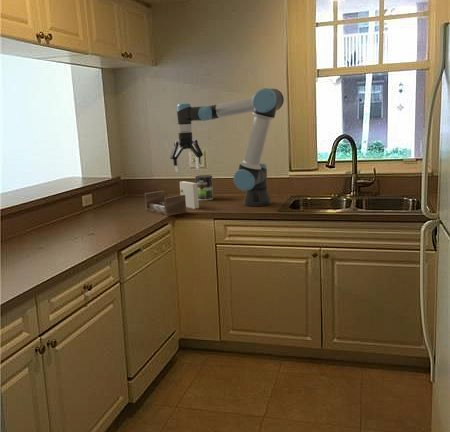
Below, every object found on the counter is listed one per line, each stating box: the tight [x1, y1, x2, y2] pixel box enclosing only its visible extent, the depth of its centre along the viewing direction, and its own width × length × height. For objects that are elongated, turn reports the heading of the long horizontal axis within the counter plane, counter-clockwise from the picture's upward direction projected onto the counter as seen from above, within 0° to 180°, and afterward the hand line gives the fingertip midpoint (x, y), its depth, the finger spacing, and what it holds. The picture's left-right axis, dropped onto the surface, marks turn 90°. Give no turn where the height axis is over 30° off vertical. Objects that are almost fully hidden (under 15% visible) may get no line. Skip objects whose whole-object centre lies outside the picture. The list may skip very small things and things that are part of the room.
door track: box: [143, 190, 187, 217], centre depth 289 cm, size 24×12×10 cm, turn 36°
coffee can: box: [194, 174, 214, 201], centre depth 320 cm, size 10×10×14 cm
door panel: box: [179, 180, 200, 210], centre depth 298 cm, size 14×3×14 cm, turn 36°
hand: (187, 170), depth 296 cm, fingers open, 13 cm apart
